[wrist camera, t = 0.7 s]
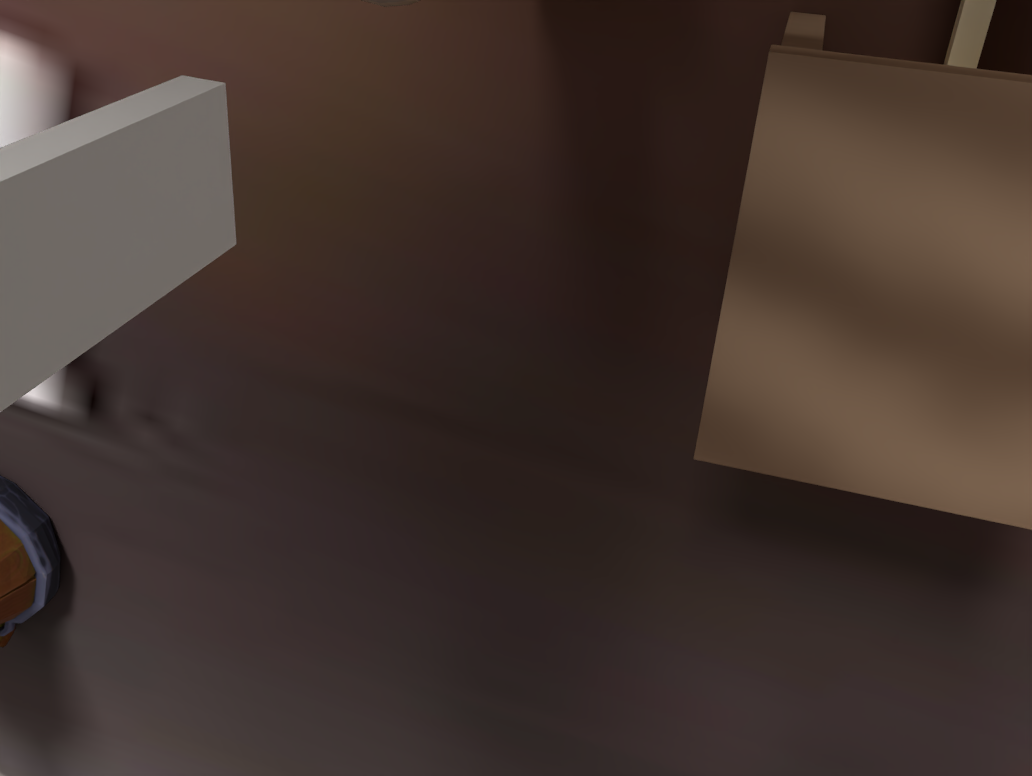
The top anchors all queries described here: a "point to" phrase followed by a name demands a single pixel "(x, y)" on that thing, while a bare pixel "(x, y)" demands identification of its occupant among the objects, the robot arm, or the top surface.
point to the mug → (24, 559)
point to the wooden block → (391, 2)
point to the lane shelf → (881, 284)
